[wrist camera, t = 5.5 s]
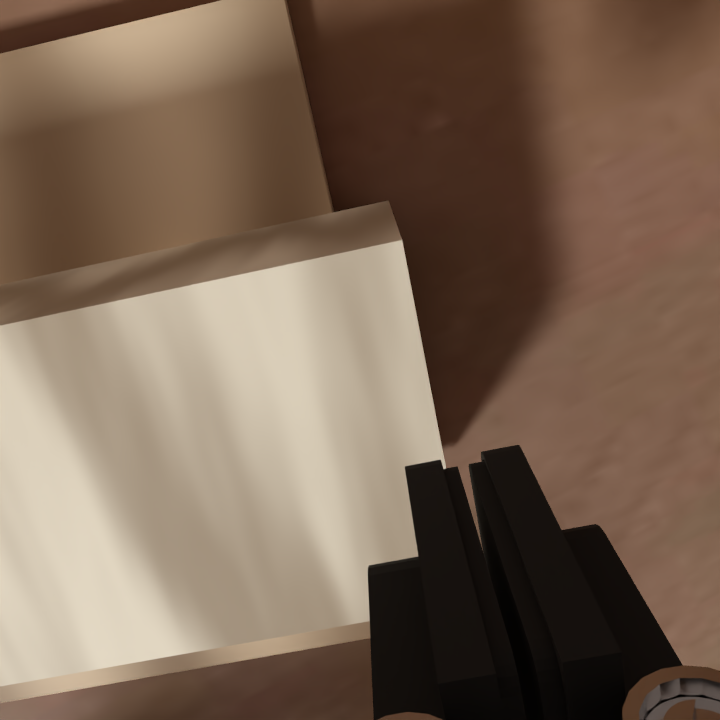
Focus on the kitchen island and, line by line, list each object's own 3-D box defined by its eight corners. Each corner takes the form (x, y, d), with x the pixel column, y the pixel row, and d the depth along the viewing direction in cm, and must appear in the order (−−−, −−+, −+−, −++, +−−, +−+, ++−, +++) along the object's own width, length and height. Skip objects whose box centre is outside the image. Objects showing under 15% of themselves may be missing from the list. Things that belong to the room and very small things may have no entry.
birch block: (402, 240, 12) (-331, 396, 13) (471, 603, 15) (-136, 710, 16) (388, 200, 17) (-150, 317, 18) (443, 482, 20) (-24, 570, 20)
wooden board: (284, -9, 16) (280, -15, 15) (423, 610, 22) (426, 628, 21) (-315, 135, 17) (-345, 136, 16) (-19, 688, 23) (-31, 708, 22)
